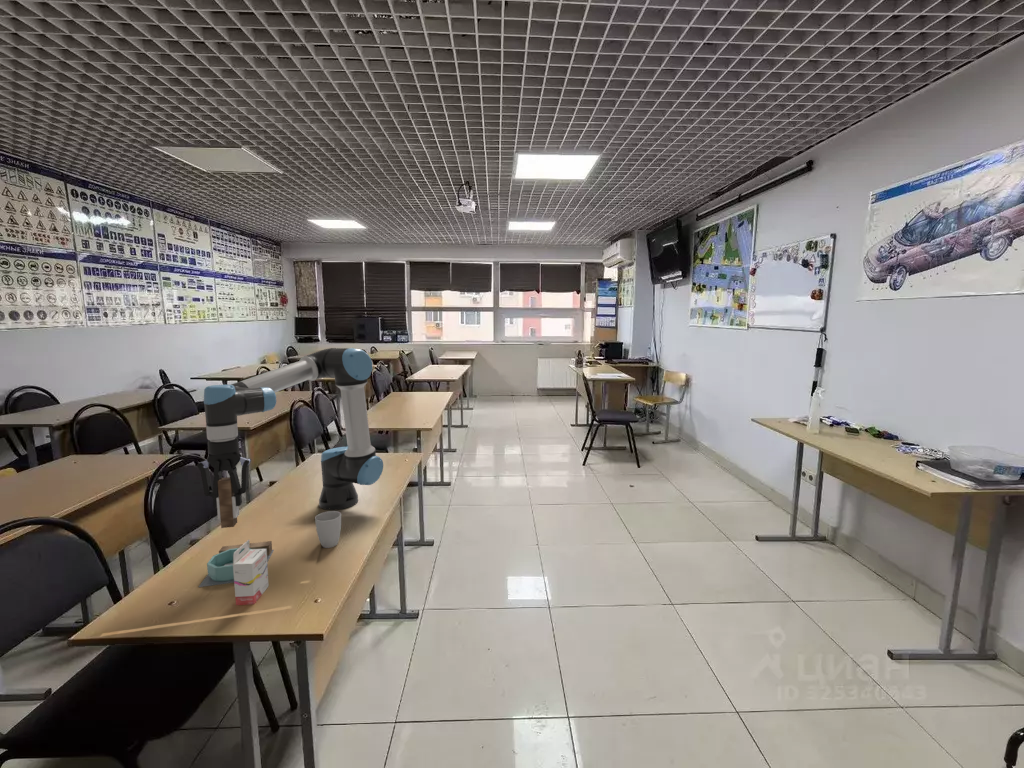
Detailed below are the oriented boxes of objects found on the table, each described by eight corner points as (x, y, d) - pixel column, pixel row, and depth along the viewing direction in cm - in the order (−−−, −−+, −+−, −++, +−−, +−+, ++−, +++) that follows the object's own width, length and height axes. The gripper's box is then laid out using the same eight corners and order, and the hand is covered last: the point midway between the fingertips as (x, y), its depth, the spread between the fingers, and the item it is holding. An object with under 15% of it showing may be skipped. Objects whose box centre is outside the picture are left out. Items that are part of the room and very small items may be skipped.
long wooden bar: (272, 550, 145) (271, 541, 144) (269, 555, 142) (268, 545, 141) (223, 556, 141) (222, 546, 141) (219, 561, 138) (218, 551, 138)
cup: (347, 540, 152) (346, 512, 151) (331, 551, 145) (329, 522, 144) (328, 537, 155) (327, 509, 154) (311, 548, 147) (309, 519, 146)
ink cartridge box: (255, 606, 116) (251, 553, 115) (235, 607, 116) (230, 553, 114) (270, 587, 125) (266, 537, 123) (251, 588, 125) (247, 538, 123)
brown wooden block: (237, 522, 133) (234, 476, 132) (233, 526, 130) (230, 480, 129) (225, 523, 132) (221, 477, 131) (221, 528, 129) (217, 481, 128)
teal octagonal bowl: (259, 558, 139) (258, 545, 139) (248, 578, 128) (247, 564, 128) (218, 563, 137) (217, 550, 136) (203, 584, 126) (202, 569, 125)
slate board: (274, 551, 145) (274, 549, 145) (258, 581, 128) (257, 579, 128) (222, 557, 142) (222, 555, 141) (198, 589, 124) (198, 587, 124)
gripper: (258, 434, 134) (263, 509, 137) (196, 437, 130) (202, 514, 133) (250, 440, 127) (255, 519, 129) (184, 443, 123) (191, 525, 125)
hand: (228, 516), depth 131 cm, fingers closed on brown wooden block, 3 cm apart
